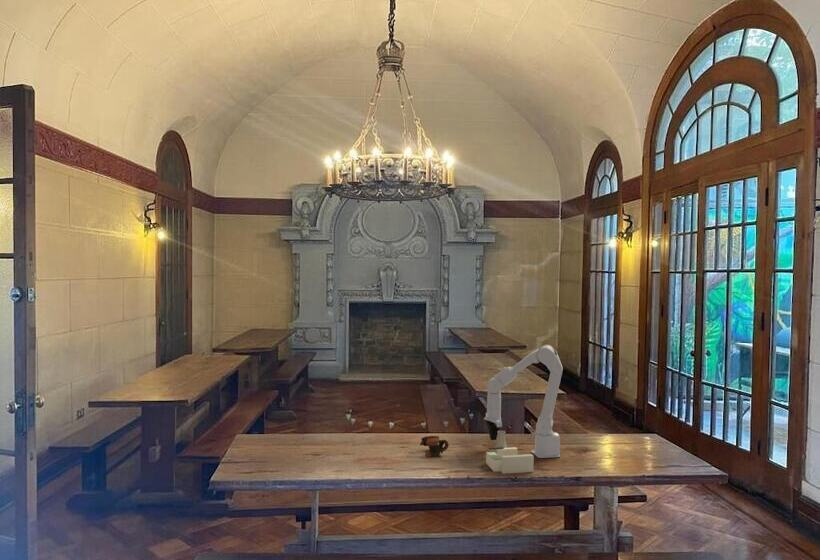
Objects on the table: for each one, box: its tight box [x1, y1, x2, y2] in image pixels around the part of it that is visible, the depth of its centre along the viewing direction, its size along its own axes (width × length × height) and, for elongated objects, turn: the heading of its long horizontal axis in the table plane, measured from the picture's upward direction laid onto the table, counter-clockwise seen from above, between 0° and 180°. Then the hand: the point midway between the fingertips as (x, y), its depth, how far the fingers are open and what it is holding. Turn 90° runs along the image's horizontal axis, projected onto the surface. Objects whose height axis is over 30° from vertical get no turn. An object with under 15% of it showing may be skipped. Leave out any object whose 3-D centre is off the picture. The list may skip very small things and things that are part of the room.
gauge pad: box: [488, 446, 519, 457], centre depth 226 cm, size 12×2×6 cm, turn 102°
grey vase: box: [493, 430, 508, 454], centre depth 232 cm, size 7×7×10 cm
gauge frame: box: [485, 450, 535, 475], centre depth 220 cm, size 14×12×6 cm
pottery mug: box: [419, 435, 450, 458], centre depth 235 cm, size 12×10×8 cm
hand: (493, 439), depth 241 cm, fingers closed
